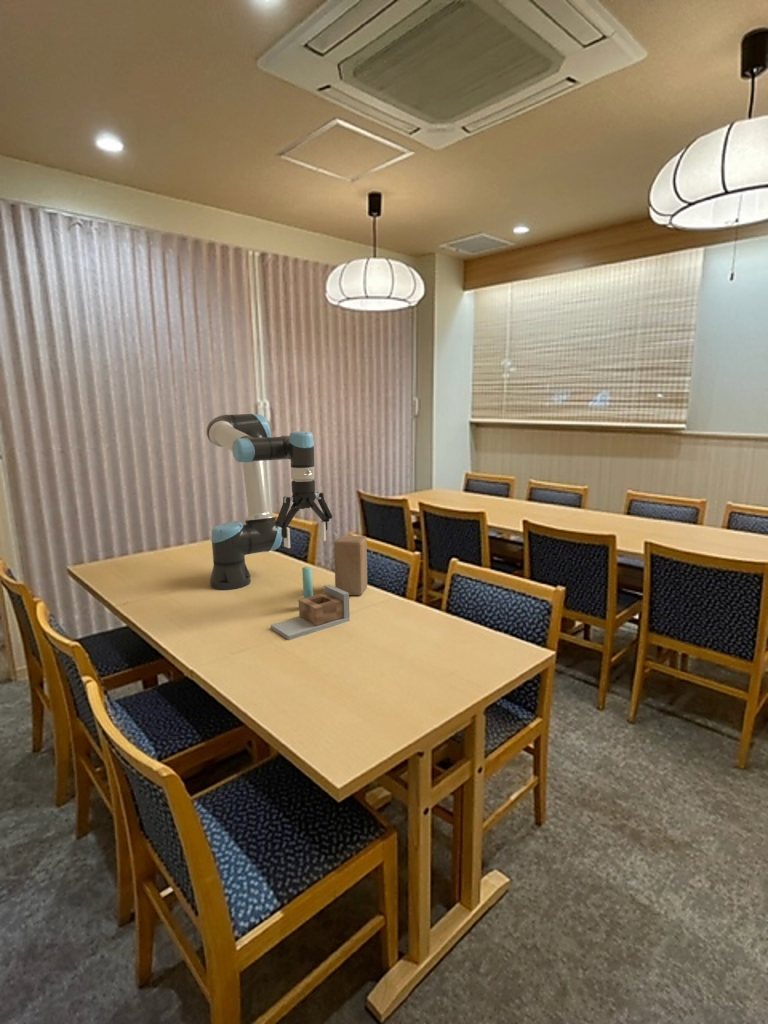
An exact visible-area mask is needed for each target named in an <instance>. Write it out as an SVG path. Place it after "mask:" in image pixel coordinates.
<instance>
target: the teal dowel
mask: <svg viewBox="0 0 768 1024" xmlns="http://www.w3.org/2000/svg"><path fill="white" fill-rule="evenodd" d="M301 570H302V573H301V574H302V590H303V591H302V593H303V594H302V595H303V598H307V597H311V596H314V591H313V590H314V586H313V585H314V583H313V567H311V566H305V567H302V569H301ZM303 598H302V599H303Z"/></svg>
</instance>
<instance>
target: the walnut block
mask: <svg viewBox="0 0 768 1024" xmlns="http://www.w3.org/2000/svg"><path fill="white" fill-rule="evenodd" d="M299 616H300V617H302V618H304V619H305V620H307V621H309V622H311V623H313V624H314V625H316V626H317V625H320V624H323V623H327V622H330V621H333V620H336V619H340V618H343V601H342V600H340V599H338V598H336V597H333V596H331V595H329V594H327V593H324V592H322V593H319V594H315V595H313V596H311V597H307V598H301V599H298V617H299Z"/></svg>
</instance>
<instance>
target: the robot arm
mask: <svg viewBox="0 0 768 1024" xmlns="http://www.w3.org/2000/svg"><path fill="white" fill-rule="evenodd" d="M205 432H206V437H207V438H208V440H209V442H210V443H211V444H213V445H214V446H216V447H221V448H225V449H227V450H229V451H230V452H232V455H233V458H234V460H235V461H236V462H237V463H242V465H241V466H242V471H243V480H244V481H243V482H244V487H245V488H244V489H245V497H246V504H247V505H246V506H247V513H248V515H247V516H246V518H245V519H244V521H245V524H243V522H241V521H239V520H238V521H236V520H235V521H228V522H222V523H220V524H218V525H216V526H214V527H213V528H212V530H211V541H210V542H211V546H212V547H211V548H212V559H213V560H212V561H213V567H212V571H211V574H210V577H209V585H210V587H211V588H213V589H216V590H234V589H235V590H236V589H239V588H244V587H246V586H248V585H249V584H251V581H252V580H251V579H252V578H251V573H250V572H249V569H248V567H247V564H246V558H245V556H246V555H247V556H248V555H252V554H258V553H260V554H261V553H265V552H271V551H274V550H277V549H279V548H280V547H281V544H282V541H283V547H284V548H287V549H291V532H290V531H291V530H290V527H288V526H289V525H290V523H291V522H292V520H293V519H294V517H295V515H296V514H297V512H299V511H300V510H304V509H310V508H311V509H312V511H313V512H314V513H315V514H316V515H317V516H318V518H319V519H320V520H319V521H318V524H319V525H318V526H319V527H318V528H319V540H320V541H322V542H326V541H327V531H328V522H329V521H330V520H331V519H333V515H332V513H331V511H330V508H329V507H328V504H327V503H326V500H325V496H324V493H323V492H320V491H317V492H316V493H315V491H316V482H315V442H314V434H313V432H311V431H308V430H307V431H304V430H303V431H301V430H299V431H291V432H290V433H289V435H281V436H272V434H271V427H270V424H269V421H268V420H267V418H266V417H265V416H263V415H262V414H258V413H246V414H245V413H242V414H221V415H218V416H217V417H214V418H213V419H211V420H210V421H209V423H208V425H207V427H206V431H205ZM281 460H290V480H292V481H291V482H290V483H291V493H292V495H291V496H283V498H282V505H281V507H280V510H279V512H278V516H277V517H276V515H275V514H273V513H272V511H271V503H270V496H269V488H268V480H267V479H268V478H267V470H266V464H265V463H266V462H267V461H281ZM265 461H266V462H265ZM315 500H317V502H318V505H319V506H320V508H321V509H320V508H319V506H318V505H317V503H316V502H315Z"/></svg>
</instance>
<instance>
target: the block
mask: <svg viewBox="0 0 768 1024" xmlns="http://www.w3.org/2000/svg"><path fill="white" fill-rule="evenodd" d="M367 539H368V538H367V536H365V535H343V534H342V535H340V537H338V538H337V539H336V540H335V541H334V542H333V549H334V550H333V551H334V585H335V586H334V587H336V588H338V589H341V590H343V591H345V592H348V593H349V596H362V595H363V593H364V592H365V591H366V589H367V588H368V553H367V552H368V551H367V550H368V544H367V543H368V542H367V541H368V540H367Z"/></svg>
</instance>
